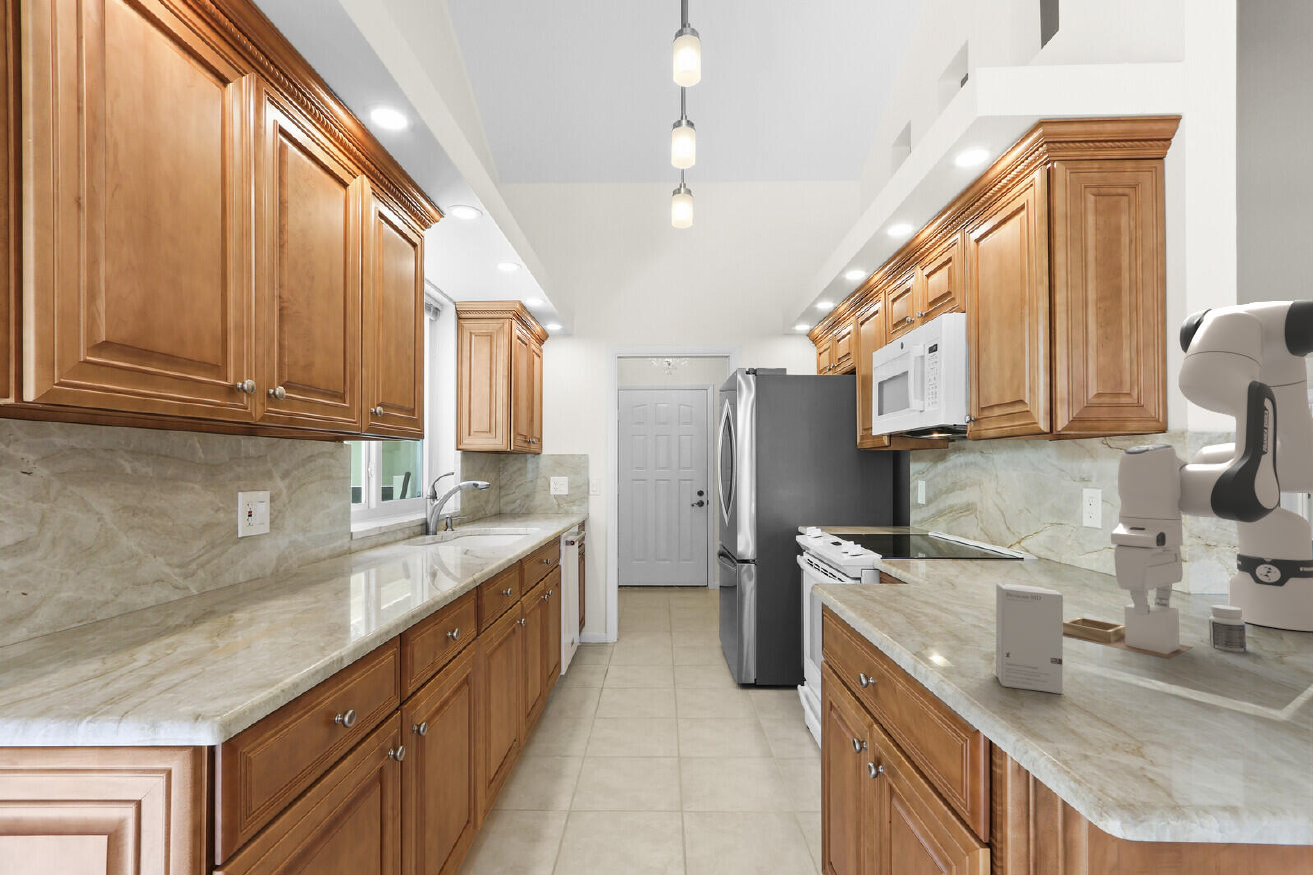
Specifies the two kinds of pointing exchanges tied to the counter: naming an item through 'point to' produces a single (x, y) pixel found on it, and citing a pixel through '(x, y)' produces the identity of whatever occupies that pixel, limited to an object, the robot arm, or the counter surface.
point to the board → (1107, 635)
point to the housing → (1153, 629)
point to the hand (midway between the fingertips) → (1152, 611)
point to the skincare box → (1029, 637)
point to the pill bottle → (1227, 628)
